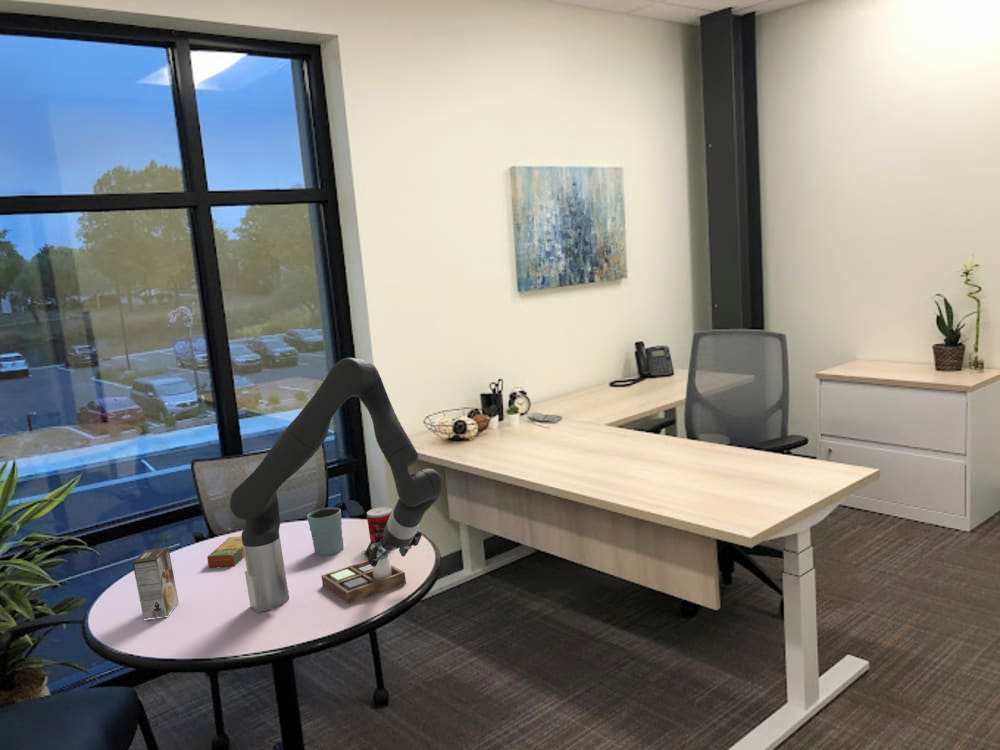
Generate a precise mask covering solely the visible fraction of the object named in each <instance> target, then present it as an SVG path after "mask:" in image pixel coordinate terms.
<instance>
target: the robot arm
mask: <svg viewBox="0 0 1000 750" xmlns="http://www.w3.org/2000/svg"><path fill="white" fill-rule="evenodd" d="M354 397H355V398H358V399H359V400H360V401H361V403H362V404H363V406H365V408H366V410H367V411H368V413H369V415H370V419H371V421H372V425H373V426H372V427H373V431H374V435H375V439H376V443H377V445H378V447H379V448H380V450H381V453H382V454H383V456H384V458H385V460H386V462H387V463H388V464H389V465H388V466H389V467H390V470H391V473H392V477H393V480H394V484H395V488H396V492H397V496H398V500H397V501H396V504H395V507H394V509H392V511H393V512H392V513H391V515H390V517H389V520H388V522H387V524H386V526H385V529H384V537H383V538H382V539H381V541H380V542H378V543H375V542H374V541H372V542H371V541H369V542H370V543H369V544H368V546H367V548H366V550H365V551H364V555H365V557H366V559H367V560H368V561H369V562H370V564H371V566H373V567H375V566H376V565H377V563H378V560H379V559H380V558H381V557H382V556H386V555H387V554H389V555H390V553H391V552H393V551H395V550H397V549H399V550H398V551H399V553H400V555H401V557H406V555H407V553H408V552H409V550H410V549H412V546H414V547H416V546H418V545H419V543H420V540H421V538H422V537H423V536H422V535H423V534H422V532H421V529H420V524H421V521H422V519H423V517H424V515H425V513H426V512H427V510H428V509H430V508H431V507H432V506H433V505H434V503H435V502H436V501H437V500H438V499H439V497H440V496H441V493H442V492H443V479H442V476H441V474H440V473H439V472H438V471H437V470H435V469H432V468H424V469H421V470H419V471H417V472H414V473H412V474H410V472H409V468H410V467H411V466H413V465H414V464H415V463H417V461H418V459H419V454H418V451H417V449H416V448H415V446H414V444H413V443H412V440H411V439H410V438H409V436H408V434H407V433H406V431H405V429H404V427H403V426H402V424H401V422H400V419H399V418H398V416H397V414H396V412H395V409H394V407H393V404H392V403H391V401H390V398H389V394H388V393H387V390H386V388H385V386H384V383H383V380H382V378H381V375H380V373H379V370H378V368H377V367H376V366H375V364H373V363H372V362H371V361H369V360H366V359H362V358H361V359H359V358H355V357H345V358H342V359H340V360H339V361H337V362H336V363H335V364H334V365H333V367H332V368H331V370H329V372H328V373H327V375H326V377H325V378H324V379H323V381H322V383H321V384H320V386H319V387H318V389H317V391H316V392H315V393H314V394H313V396H312V398H310V400H309V401H308V402H307V403H306V404H305V406H304V407H303V408H302V409H301V411H300V412H299V413H298V415H297V416H296V417H295V418H294V419H293V420H291V422H290V424H289V425H288V426H287V427H286V429H285V430H284V431H283V432H282V433H281V434H280V436H279V437H278V439H276V441H275V443H273V446H271V448H270V450H268V452H267V454H266V455H265V457H264V458H263V459H262V461H261V462H260V464H258V466H257V467H256V468H255V470H253V472H251V473H250V475H249V476H247V477H246V479H245V480H243V481H242V482H241V483H240V484H239V485H238V486H237V487H236V488H235V489H233V492H232V493H231V495H230V499H229V508H230V512H231V513H232V515H234V517H236V518H238V519H240V520H244V521H245V523H244V526H243V530H242V532H241V535H240V536H241V537H242V544H243V549H244V556H245V557H244V562H245V566H246V570H245V571H244V575H245V581H246V587H247V592H248V599H249V605H250V607H251V608H252V609H253V610H254V611H255V610H256V611H255V612H256V613H261V611H262V612H268V611H271V609H275V608H279V607H281V606H284V605H285V604H286V603H288V601H289V600H290V594H289V588H288V582H287V576H286V575H287V574H286V569H285V563H284V562H285V561H284V555H283V549H282V543H281V538H280V536H281V535H280V526H281V514H280V508H279V498H278V494H277V493H278V492H277V491H278V489H279V488H280V487H281V486H282V485H283V484H285V482H286V481H287V480H289V479H290V478H291V477H292V476H293V475H295V473H297V471H299V470H300V469H301V468H303V466H305V464H307V462H308V461H310V459H311V458H312V457H313V456H314V455H315V454H316V453H317V452H318V451H319V449H320V447H322V445H323V444H324V442H325V441H326V439H327V437H328V433H329V430H330V425H331V422H332V419H333V417H334V416H335V414H336V413H337V411H339V409H340V408H341V407H342V406H343V405H344V404H345V402H347V400H349V399H350V398H354ZM383 548H384V549H385V550H386V551H385V552H384V550H383ZM377 552H379V555H377Z"/></svg>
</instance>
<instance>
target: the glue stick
mask: <svg viewBox="0 0 1000 750" xmlns="http://www.w3.org/2000/svg"><path fill="white" fill-rule="evenodd" d="M383 550H384V552H385V551H386V550H385V549H384V548H383ZM377 555H379V552H377ZM390 557H391V556H390V553H389V554H387V555H386V556H382V557H381V558H380V559H379V560H378V563H377V565H376V566H375V567H373V566H372V569H373V577H374V580H376V581H378V580H381V579H384V578H386V577H389V576H392V571H391V565H392V564H391V558H390Z"/></svg>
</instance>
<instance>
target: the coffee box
mask: <svg viewBox="0 0 1000 750" xmlns="http://www.w3.org/2000/svg"><path fill="white" fill-rule="evenodd" d="M169 549H170V548H169V546H166V547H165V546H164V547H160V548H152V549H146V550H144V551H143V552H142V553H141V554H140V555H139V556H138V557H137V558H136V559H135V560H133V562H132V566H133V571H134V577H135V582H136V588H137V593H138V598H139V602H140V608H141V613H142V614H141V615H142V618H143V620H144V619H148V618H157V617H165V616H168V615H169V613H170V612H171V611H172V610H173V609H174V607H175V606H176V605H177V603H178V602H179V597H178V592H177V591H178V590H177V587H176V582H175V576H174V574H175V573H174V570H173V565H172V559H171V554H170V550H169ZM179 603H180V602H179ZM179 603H178V604H179ZM177 606H178V605H177ZM177 606H176V607H177ZM176 607H175V608H176ZM174 610H175V609H174ZM174 610H173V611H174ZM173 611H172V612H173ZM169 616H170V615H169Z"/></svg>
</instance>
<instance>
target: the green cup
mask: <svg viewBox="0 0 1000 750" xmlns="http://www.w3.org/2000/svg"><path fill="white" fill-rule="evenodd" d="M341 510H342V509H341V508H338V507H324V508H323V507H322V508H318V509H315V510H313V511H311V512H309V513H308V514H307V515H306V518H307V522H308V525H309V530H310V532H311V533H310V534H311V538H312V543H313V544H312V545H313V550H314V553H315V555H317V556H321V557H325V556H324V555H328V556H331V554H333V555H336V554H338V552H339V553H341V552H342V551H343V550H344V537H343V527H342V526H343V525H342V524H343V523H342V511H341ZM341 550H342V551H341ZM335 553H336V554H335Z"/></svg>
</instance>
